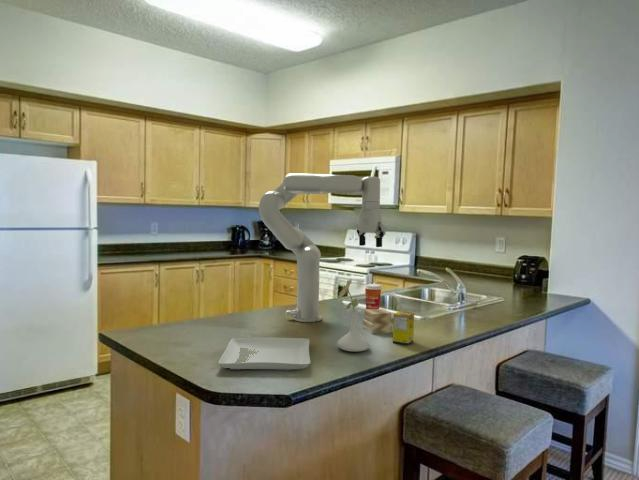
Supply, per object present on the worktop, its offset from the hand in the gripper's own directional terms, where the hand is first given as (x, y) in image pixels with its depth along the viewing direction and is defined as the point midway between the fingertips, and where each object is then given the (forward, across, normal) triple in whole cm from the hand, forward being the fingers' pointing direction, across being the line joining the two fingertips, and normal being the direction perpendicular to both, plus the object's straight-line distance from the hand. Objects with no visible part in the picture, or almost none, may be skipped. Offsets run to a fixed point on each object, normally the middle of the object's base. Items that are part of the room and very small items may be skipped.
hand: (370, 246), depth 202 cm
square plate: (+33, +15, -64) cm, 73 cm away
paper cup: (+33, -7, +9) cm, 35 cm away
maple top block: (+29, +12, -8) cm, 32 cm away
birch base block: (+33, +12, -8) cm, 36 cm away
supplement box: (+33, +29, -13) cm, 46 cm away
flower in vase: (+33, +24, -35) cm, 54 cm away
